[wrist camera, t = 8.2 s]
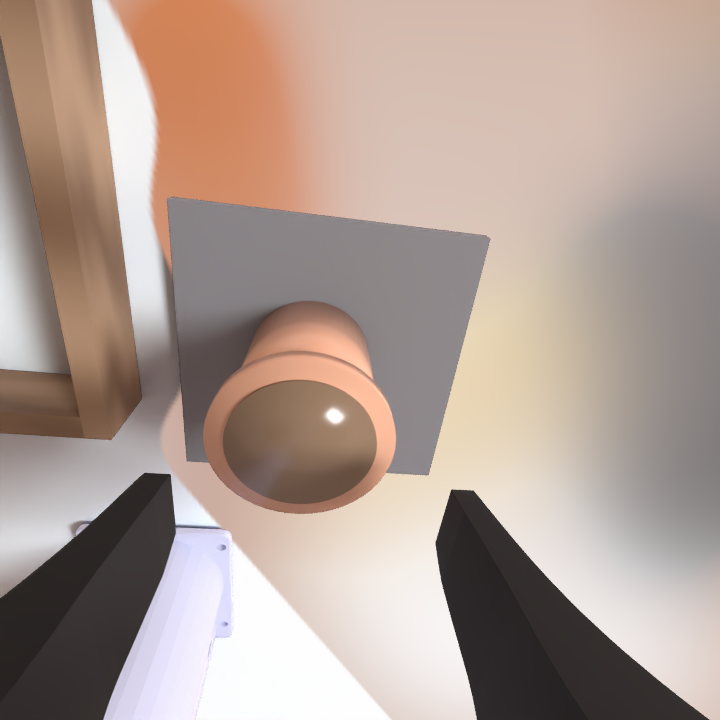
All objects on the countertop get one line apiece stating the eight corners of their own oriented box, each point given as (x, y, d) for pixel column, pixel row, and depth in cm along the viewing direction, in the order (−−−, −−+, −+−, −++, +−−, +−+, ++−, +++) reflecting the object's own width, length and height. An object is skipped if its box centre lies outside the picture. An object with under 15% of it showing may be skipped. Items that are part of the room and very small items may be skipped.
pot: (370, 414, 20) (385, 518, 14) (244, 409, 19) (209, 515, 14) (384, 296, 17) (409, 368, 12) (238, 286, 17) (192, 357, 11)
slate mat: (426, 467, 22) (428, 475, 22) (190, 453, 21) (186, 461, 20) (485, 235, 17) (490, 238, 16) (172, 196, 16) (167, 198, 15)
